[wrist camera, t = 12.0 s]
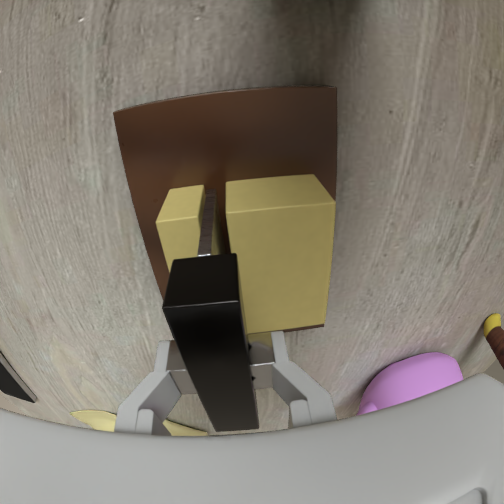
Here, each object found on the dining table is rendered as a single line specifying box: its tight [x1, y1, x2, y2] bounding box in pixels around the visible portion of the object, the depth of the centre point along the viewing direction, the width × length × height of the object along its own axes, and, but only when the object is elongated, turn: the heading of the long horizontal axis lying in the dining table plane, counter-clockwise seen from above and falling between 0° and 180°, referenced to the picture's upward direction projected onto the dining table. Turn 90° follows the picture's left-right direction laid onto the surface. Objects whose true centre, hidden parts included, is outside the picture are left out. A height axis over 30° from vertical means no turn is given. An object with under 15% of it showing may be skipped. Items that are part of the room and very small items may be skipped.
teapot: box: [356, 352, 463, 416], centre depth 29 cm, size 20×13×12 cm, turn 88°
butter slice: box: [156, 185, 206, 272], centre depth 17 cm, size 8×2×4 cm, turn 5°
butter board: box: [113, 86, 337, 334], centre depth 19 cm, size 18×12×2 cm, turn 5°
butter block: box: [226, 174, 336, 334], centre depth 17 cm, size 8×5×4 cm, turn 5°
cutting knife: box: [162, 189, 259, 432], centre depth 14 cm, size 9×2×8 cm, turn 4°
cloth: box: [69, 410, 207, 436], centre depth 36 cm, size 22×19×6 cm
